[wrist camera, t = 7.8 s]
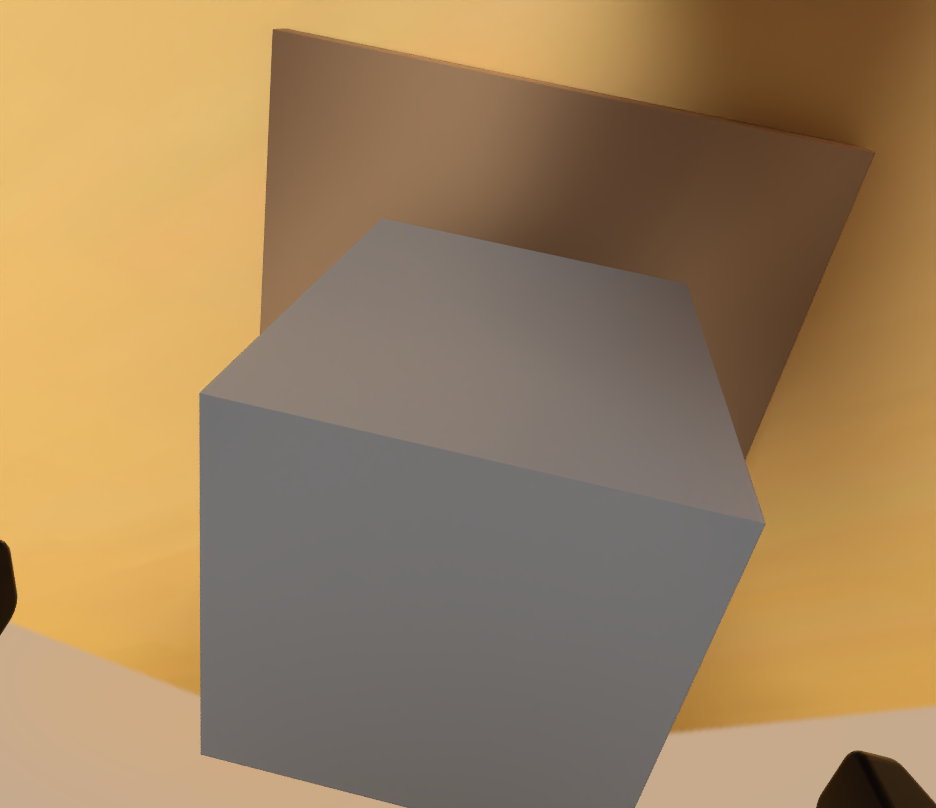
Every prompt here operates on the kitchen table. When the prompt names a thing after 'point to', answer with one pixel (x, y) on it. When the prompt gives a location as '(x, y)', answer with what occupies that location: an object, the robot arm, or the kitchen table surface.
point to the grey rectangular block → (466, 527)
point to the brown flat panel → (555, 190)
